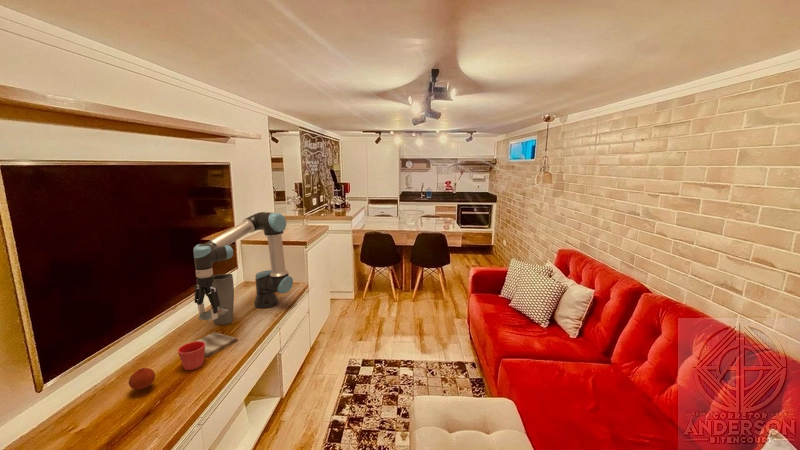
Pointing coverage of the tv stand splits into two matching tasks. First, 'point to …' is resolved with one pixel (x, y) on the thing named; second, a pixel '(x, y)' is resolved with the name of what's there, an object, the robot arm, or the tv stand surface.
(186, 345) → the flower pot
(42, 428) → the tv stand surface
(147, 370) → the fruit
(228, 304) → the vase
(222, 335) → the stand
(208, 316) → the packaged food
